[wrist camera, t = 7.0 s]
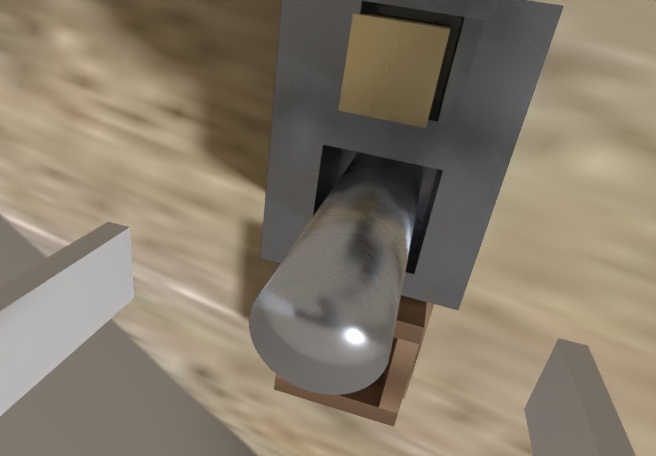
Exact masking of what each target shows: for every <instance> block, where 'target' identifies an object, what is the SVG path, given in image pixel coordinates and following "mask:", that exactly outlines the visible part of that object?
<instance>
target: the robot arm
mask: <svg viewBox="0 0 656 456" xmlns="http://www.w3.org/2000/svg"><path fill="white" fill-rule="evenodd" d="M133 298H134V287H133V271H132V255H131V239H130V227H127V226H123V225H119V224H115V223H112V222H107V223H105V224H104V225H102V226H100V227H98V228H97V229H95V230H93V231H92V232H90V233H88V234H87V235H85V236H83V237H82V238H80V239H78V240H76V241H75V242H73V243H71V244H70V245H68V246H66V247H65V248H63V249H61V250H60V251H58V252H56V253H54V254H53V255H51V256H49V257H48V258H46V259H44V260H43V261H41V262H39V263H38V264H36V265H34V266H32V267H31V268H29V269H28V270H26V271H24V272H22V273H21V274H19V275H17V276H16V277H14V278H12V279H10V280H9V281H7V282H6V283H4V284H2V285H0V416H1V415H2V414H3V413H4V412H5V411H6V410H8V408H10V407H11V406H12V405H13V404H14V403H15V402H17V401H18V400H19V399H20V398H21V397H22V396H23V395H25V394H26V393H27V392H28V391H29V390H30V389H31V388H32V387H34V386H35V385H36V384H37V383H38V382H39V381H40V380H41V379H43V378H44V377H45V376H46V375H47V374H48V373H49V372H51V371H52V370H53V369H54V368H55V367H56V366H57V365H58V364H60V363H61V362H62V361H63V360H64V359H65V358H66V357H68V356H69V355H70V354H71V353H72V352H73V351H74V350H76V349H77V348H78V347H79V346H80V345H81V344H82V343H83V342H85V341H86V340H87V339H88V338H89V337H90V336H91V335H93V334H94V333H95V332H96V331H97V330H98V329H99V328H100V327H102V326H103V325H104V324H105V323H106V322H107V321H108V320H109V319H111V318H112V317H113V316H114V315H115V314H116V313H117V312H119V311H120V310H121V309H122V308H123V307H124V306H125V305H126V304H128V303H129V302H130V301H131V300H132V299H133ZM524 410H525V415H526V420H527V425H528V430H529V435H530V440H531V445H532V450H533V455H534V456H636V455H635V453H634V451H633V448H632V446H631V444H630V442H629V439H628V437H627V435H626V432H625V430H624V428H623V425H622V423H621V421H620V419H619V416H618V414H617V412H616V409H615V407H614V405H613V402H612V400H611V398H610V395H609V393H608V391H607V389H606V386H605V384H604V382H603V379H602V377H601V375H600V372H599V370H598V368H597V366H596V363H595V361H594V359H593V356H592V354H591V352H590V349H589V347H588V346H586V345H582V344H578V343H575V342H571V341H567V340H563V339H558V341H557V343H556V345H555V347H554V349H553V351H552V353H551V355H550V357H549V359H548V361H547V363H546V365H545V368H544V370H543V372H542V374H541V376H540V378H539V380H538V382H537V384H536V386H535V388H534V390H533V392H532V394H531V396H530V398H529V400H528V402H527V405H526V407H525V409H524Z"/></svg>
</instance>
